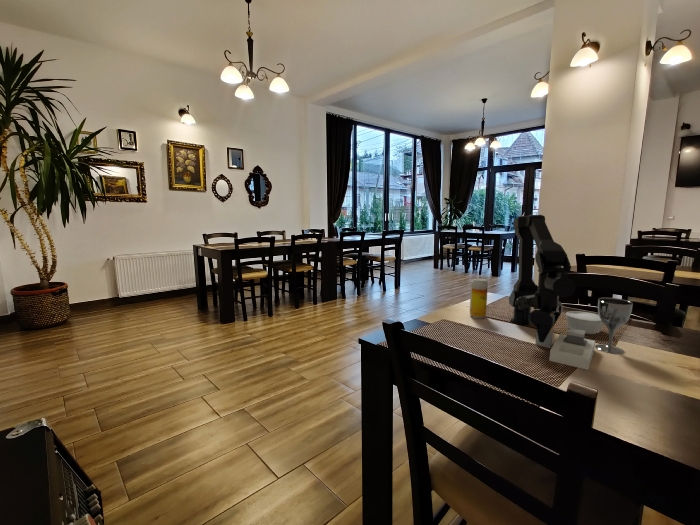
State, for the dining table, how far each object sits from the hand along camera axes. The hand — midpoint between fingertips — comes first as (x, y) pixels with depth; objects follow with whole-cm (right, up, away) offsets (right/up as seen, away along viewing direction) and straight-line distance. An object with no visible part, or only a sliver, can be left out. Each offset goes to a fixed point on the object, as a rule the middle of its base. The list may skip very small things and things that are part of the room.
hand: (544, 337), depth 105 cm
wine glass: (+17, -3, -4) cm, 18 cm away
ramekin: (+21, 0, +13) cm, 24 cm away
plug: (0, -2, 0) cm, 2 cm away
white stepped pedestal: (+4, -3, -8) cm, 9 cm away
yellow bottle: (-10, +2, +28) cm, 30 cm away
